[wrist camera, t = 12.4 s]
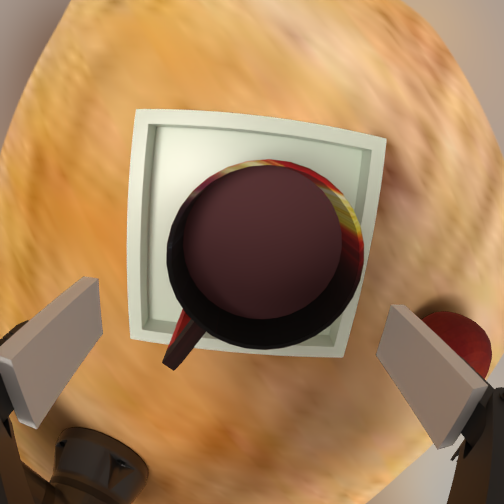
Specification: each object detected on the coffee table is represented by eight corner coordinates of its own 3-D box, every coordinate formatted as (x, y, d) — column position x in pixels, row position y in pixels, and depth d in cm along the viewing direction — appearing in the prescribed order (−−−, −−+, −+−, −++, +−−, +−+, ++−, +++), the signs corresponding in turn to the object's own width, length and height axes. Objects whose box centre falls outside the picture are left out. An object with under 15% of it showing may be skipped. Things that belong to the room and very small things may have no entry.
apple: (415, 378, 33) (450, 430, 23) (371, 344, 31) (409, 404, 21) (466, 322, 31) (513, 364, 21) (430, 279, 29) (486, 320, 20)
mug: (185, 305, 28) (153, 388, 17) (211, 151, 25) (183, 141, 13) (287, 323, 29) (309, 411, 18) (325, 176, 25) (385, 187, 14)
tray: (139, 323, 30) (130, 338, 27) (147, 114, 24) (136, 109, 21) (335, 341, 31) (342, 357, 28) (372, 140, 25) (386, 138, 22)
